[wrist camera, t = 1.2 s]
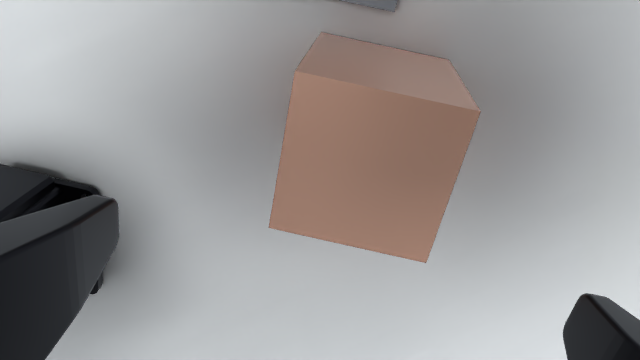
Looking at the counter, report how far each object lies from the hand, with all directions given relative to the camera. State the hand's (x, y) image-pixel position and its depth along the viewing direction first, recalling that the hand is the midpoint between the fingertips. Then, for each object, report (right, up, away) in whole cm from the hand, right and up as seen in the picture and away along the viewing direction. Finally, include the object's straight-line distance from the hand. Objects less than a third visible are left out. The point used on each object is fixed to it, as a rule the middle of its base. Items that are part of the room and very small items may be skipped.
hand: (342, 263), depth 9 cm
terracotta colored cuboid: (+2, +5, +11) cm, 12 cm away
